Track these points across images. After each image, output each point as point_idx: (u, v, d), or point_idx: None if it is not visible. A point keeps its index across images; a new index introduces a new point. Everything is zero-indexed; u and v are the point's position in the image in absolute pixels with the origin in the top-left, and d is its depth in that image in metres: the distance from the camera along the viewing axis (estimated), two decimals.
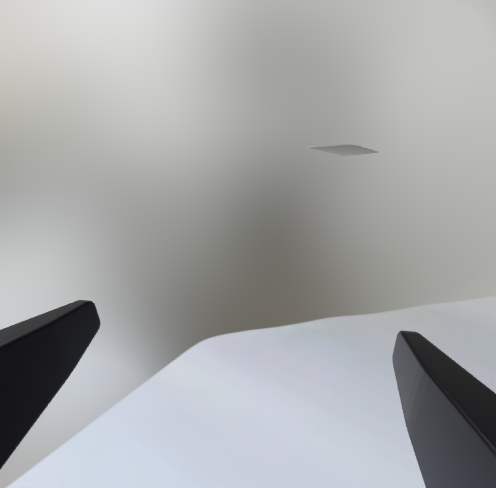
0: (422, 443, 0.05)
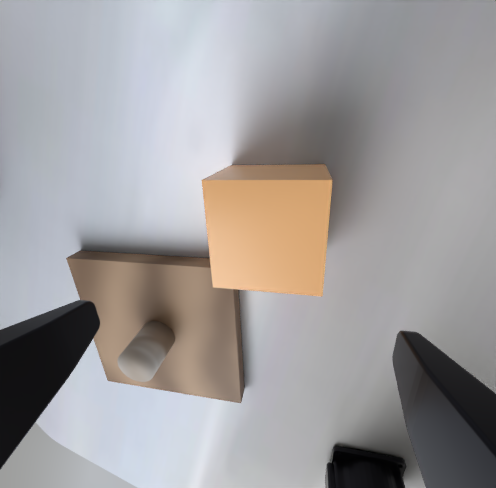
0: (422, 443, 0.05)
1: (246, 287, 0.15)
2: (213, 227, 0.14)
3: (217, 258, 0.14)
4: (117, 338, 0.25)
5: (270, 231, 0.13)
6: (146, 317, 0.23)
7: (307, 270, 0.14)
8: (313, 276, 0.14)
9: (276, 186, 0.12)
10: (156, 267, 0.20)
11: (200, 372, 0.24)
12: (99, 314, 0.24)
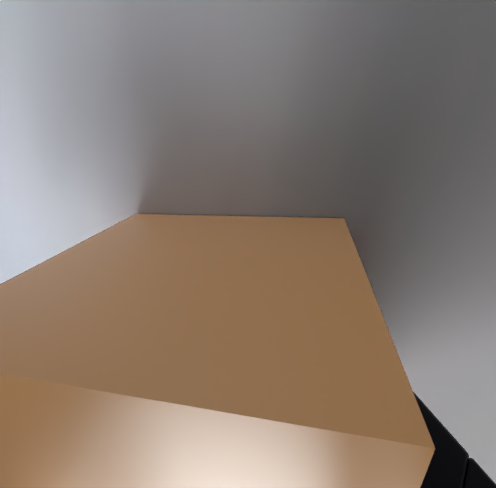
0: None
1: None
2: None
3: None
4: None
5: None
6: None
7: None
8: None
9: (147, 418, 0.03)
10: None
11: None
12: None
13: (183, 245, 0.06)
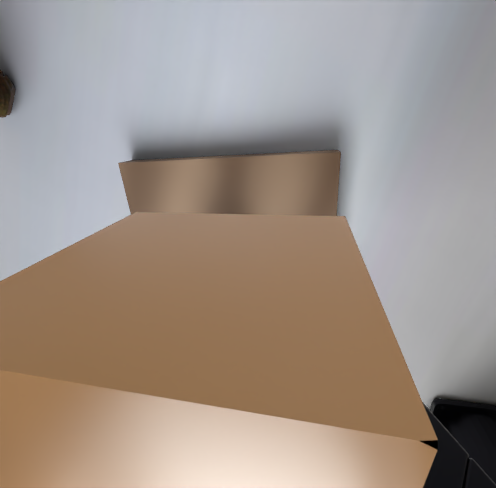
0: None
1: None
2: None
3: None
4: None
5: None
6: None
7: None
8: None
9: (148, 414, 0.03)
10: (236, 162, 0.16)
11: None
12: None
13: (183, 243, 0.06)
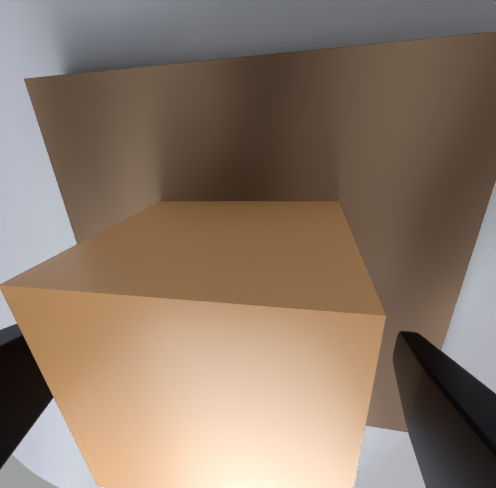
0: (422, 443, 0.05)
1: None
2: (63, 388, 0.05)
3: (90, 443, 0.06)
4: None
5: (201, 415, 0.05)
6: None
7: None
8: None
9: (201, 317, 0.04)
10: (272, 67, 0.07)
11: None
12: None
13: (206, 221, 0.07)
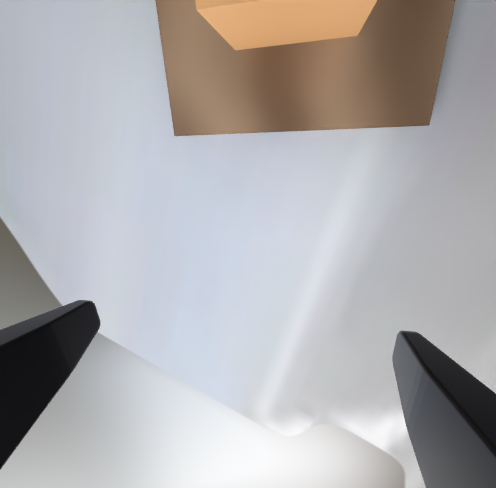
0: (422, 443, 0.05)
1: None
2: None
3: None
4: None
5: None
6: None
7: None
8: None
9: None
10: None
11: (361, 57, 0.13)
12: None
13: None
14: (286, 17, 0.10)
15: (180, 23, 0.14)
